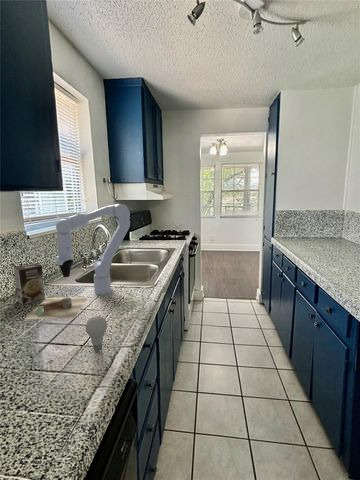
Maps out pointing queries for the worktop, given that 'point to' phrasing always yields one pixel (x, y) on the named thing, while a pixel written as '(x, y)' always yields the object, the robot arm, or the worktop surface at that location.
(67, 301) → the lever
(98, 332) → the lightbulb
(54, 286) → the worktop surface
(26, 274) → the coffee box
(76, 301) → the dial board
